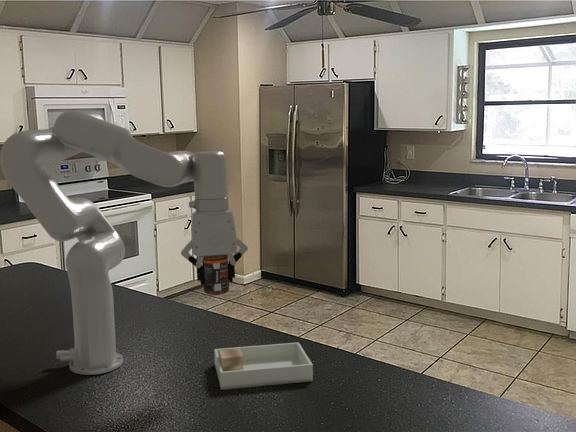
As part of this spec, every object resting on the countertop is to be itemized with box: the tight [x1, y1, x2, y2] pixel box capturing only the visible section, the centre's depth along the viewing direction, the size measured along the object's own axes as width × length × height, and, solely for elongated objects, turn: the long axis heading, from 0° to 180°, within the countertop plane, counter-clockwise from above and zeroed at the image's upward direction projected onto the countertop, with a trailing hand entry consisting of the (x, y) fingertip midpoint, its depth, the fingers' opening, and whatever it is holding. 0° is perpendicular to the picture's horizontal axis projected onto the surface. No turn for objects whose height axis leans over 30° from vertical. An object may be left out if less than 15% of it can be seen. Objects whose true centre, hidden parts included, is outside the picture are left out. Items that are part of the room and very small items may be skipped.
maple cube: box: [219, 348, 244, 372], centre depth 145 cm, size 5×5×5 cm
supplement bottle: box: [202, 255, 230, 296], centre depth 143 cm, size 6×6×11 cm
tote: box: [214, 342, 314, 391], centre depth 147 cm, size 21×14×4 cm
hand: (216, 281), depth 144 cm, fingers closed on supplement bottle, 6 cm apart
